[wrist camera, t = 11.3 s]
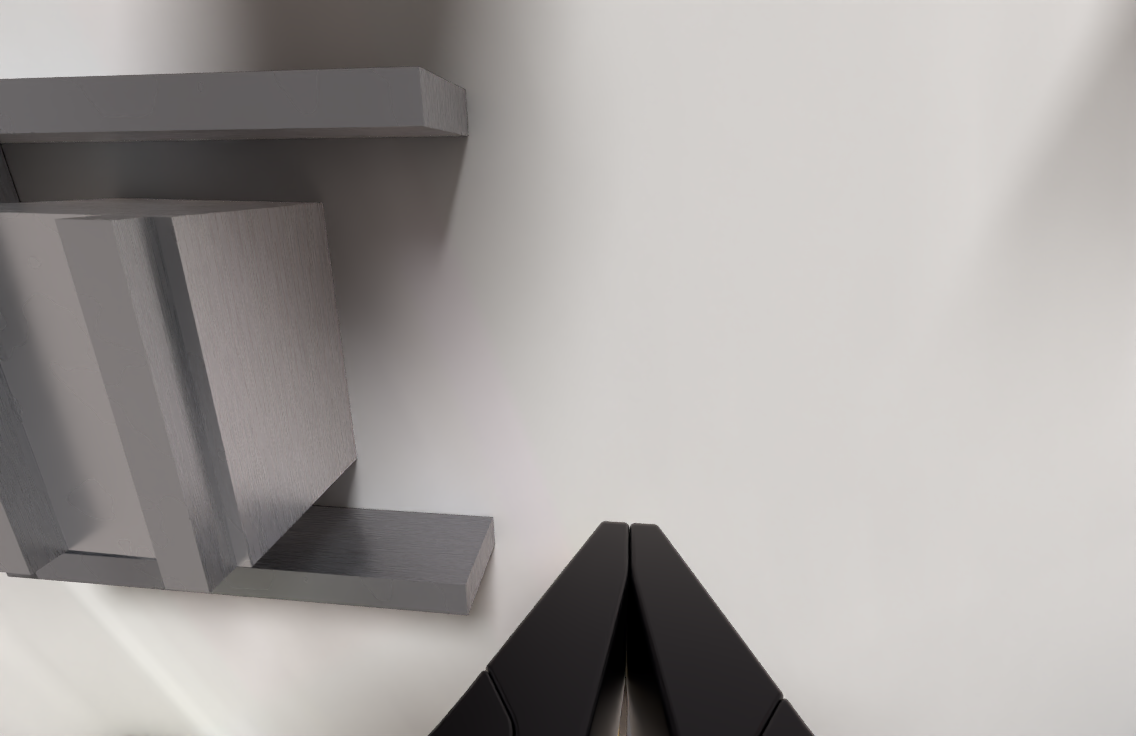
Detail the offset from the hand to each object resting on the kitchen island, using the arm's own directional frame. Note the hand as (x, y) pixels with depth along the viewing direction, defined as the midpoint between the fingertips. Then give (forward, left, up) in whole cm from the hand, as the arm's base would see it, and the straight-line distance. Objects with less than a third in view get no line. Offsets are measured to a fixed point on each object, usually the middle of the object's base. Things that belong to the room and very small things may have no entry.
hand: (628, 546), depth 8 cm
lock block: (0, +13, -10) cm, 17 cm away
